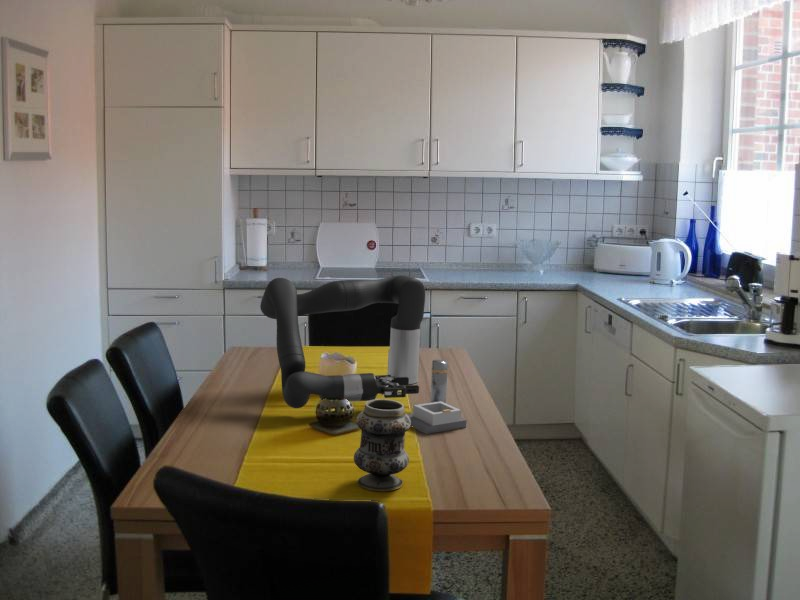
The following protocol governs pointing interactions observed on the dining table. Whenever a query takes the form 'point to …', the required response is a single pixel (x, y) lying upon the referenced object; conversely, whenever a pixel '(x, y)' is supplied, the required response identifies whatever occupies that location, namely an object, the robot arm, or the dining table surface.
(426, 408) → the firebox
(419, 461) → the dining table surface
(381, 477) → the apothecary jar
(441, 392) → the metal canister
